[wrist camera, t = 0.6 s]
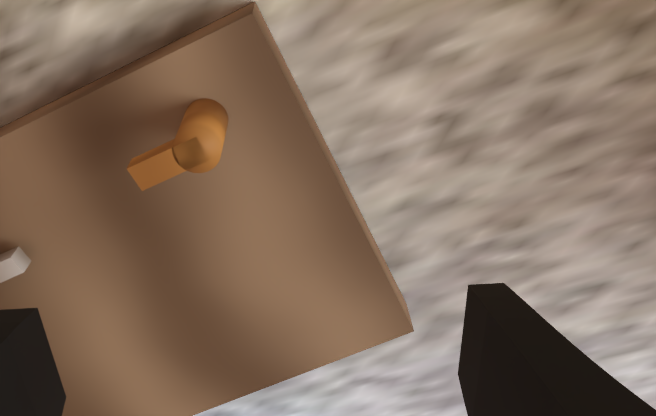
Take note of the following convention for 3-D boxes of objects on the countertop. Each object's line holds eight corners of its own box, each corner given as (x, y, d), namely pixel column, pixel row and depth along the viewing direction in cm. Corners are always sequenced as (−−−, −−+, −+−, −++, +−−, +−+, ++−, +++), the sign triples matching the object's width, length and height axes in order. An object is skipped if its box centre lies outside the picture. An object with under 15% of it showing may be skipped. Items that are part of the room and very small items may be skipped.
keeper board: (254, 1, 17) (246, 38, 13) (406, 304, 23) (428, 386, 19) (-371, 311, 21) (-508, 405, 17) (-106, 503, 26) (-167, 603, 23)
